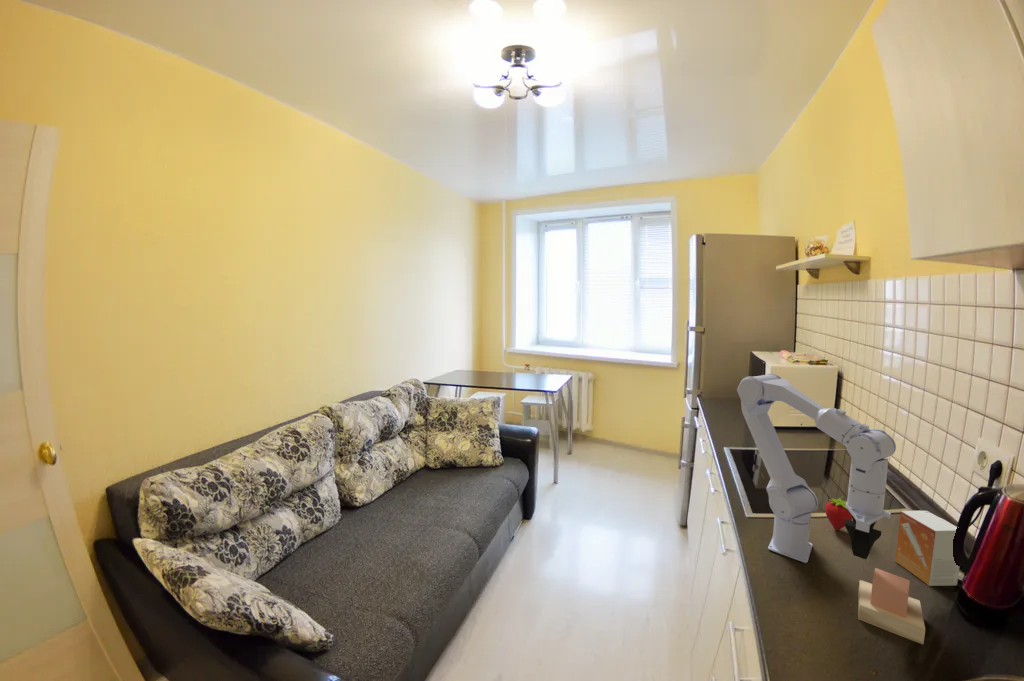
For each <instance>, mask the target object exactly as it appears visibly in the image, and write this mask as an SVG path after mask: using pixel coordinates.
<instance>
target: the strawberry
mask: <svg viewBox="0 0 1024 681" xmlns="http://www.w3.org/2000/svg"><path fill="white" fill-rule="evenodd" d="M844 497H845V495H844V496H841V498H840V497H839V498H837V499H836V498H832V497H831V498H830V499H829V498H828V499H827V500H828V502H826V504H825V507H824V510H825V515H826V517H827V519H828V522H829V523H830V524H831V526H832V527H833V529H834V530H835V531H840V530H842V529H843V528H846V527H845V519H847V520H851V521H853V519H852V515H851V513H850V512H849V510H848V509H847V508H846V502H847V500H842V498H844Z"/></svg>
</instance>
